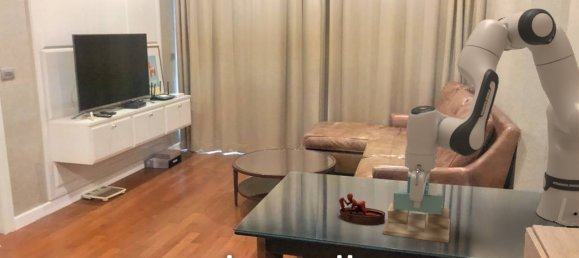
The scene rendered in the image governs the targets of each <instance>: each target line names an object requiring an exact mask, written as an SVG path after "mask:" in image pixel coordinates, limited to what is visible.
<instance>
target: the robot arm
mask: <svg viewBox="0 0 579 258" xmlns="http://www.w3.org/2000/svg"><path fill="white" fill-rule="evenodd" d="M526 48H527V49H528V50H529V51H530V53H531V54H532V59H533V62H534V66H535V69H536V72H537V75H538V79H539V81H540V84H541V88H542V89H543V92H544V93H545V95H546V98H547V99H548V101H549V103H548V105H547V107H546V110H545V114H546V119H547V124H546V125H547V141H548V143H547V145H548V150H547V153H548V154H547V162H546V169H545V170H546V171H545V172H544V175H543V180H542V189H543V190H542V195H541V198H540V202H539V204H538V207H537V209H536V210H535V211H536V214H537V215H538V216H539V217H541V218H543V219H545V220H546V221H550V222H553V221H559V222H560V223H561V224H563V225H565V226H564V227H566V226H570V225H573V226H579V66H578V65H579V64H578V63H577V59H576V56H575V53H574V50H573V47H572V44H571V42H570V40H569V38H568V36H567V34H566V32H565V30H564V29H563V27H562V26H561V25H559V24H557V23H556V21H555V19H554V17H553V16H552V14H551V13H550V12H549V11H548V10H546V9H543V8H529V9H526V10H521V11H518V12H513V13H512V14H510V15H507V16H504V17H501V18H499V19H492V18H488V19H487V18H485V19H484V20H482V21H480V22H478V24H477V25H476V26H475V27H474V28H473V30H472V31H471V34H470V35H469V37H468V38H467V40H466V41H465V43H464V45H463V48H462V49H461V51H460V53H459V56H458V59H457V64H456V66H457V69H458V72H459V74H460V76H461V77H463V79H464V80H466V81H467V82H468V83H470V84H471V85H473V87H474V95H473V98H472V102H471V105H470V107H469V111H468V114H467V116H466V117H465V118H463V119H462V118H458V117H454V116H451V115H447V114H445V113H442V112H441V111H439V110H438V109H437V108H436V107H435V106H433V105H419V106H415V107H413V108H411V110H410V111H409V113H408V117H407V123H406V131H405V132H406V134H405V137H406V147H405V152H404V153H405V155H404V167H405V168H407V169H408V172H410V173H412V174H411V180H410V195H409V197H410V200H414V207H415V208H420V204H421V201H422V199H423V195H424V191H425V186H426V182H427V178H428V174H429V175H430V174H431V171H432V170H434V169H436V164H437V163H436V161H437V160H436V159H437V148H438V147H440V148H442V149H445V150H449V151H452V152H454V153H456V154H458V155H461V156H463V157H469V156H473V155H474V154H476V153H478V152H479V151H480V150H481V149H482V147H483V145H484V144H485V140H486V134H487V126H488V123H489V120H490V115H491V114H492V113H491V112H492V109H493V107H494V102H495V99H496V95H497V92H498V89H499V85H500V84H499V83H500V78H499V75H498V73H497V68H498V64H499V62H500V60H501V57H502V55H503V53H504V52H505V51H507V52H508V51H513V50H522V49H526Z"/></svg>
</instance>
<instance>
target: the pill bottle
mask: <svg viewBox="0 0 579 258" xmlns="http://www.w3.org/2000/svg"><path fill="white" fill-rule="evenodd" d="M411 174H412V173H410V172H409V171H408V172H407V185H406V192H407V193H410V180H411ZM429 186H430V174H428V178H427V182H426V186H425V191H424V194H426V195H429Z"/></svg>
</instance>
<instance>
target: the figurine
mask: <svg viewBox="0 0 579 258" xmlns="http://www.w3.org/2000/svg"><path fill="white" fill-rule="evenodd" d="M346 199H347V200H348V201H347V200H346ZM346 199H345V198H344V197H341V198H339V199H338V202H339V206H340V209H339V216H340V217H339V218H340V219H341V220H343V221H344V222H347V223H351V224H355V225H360V226H361V225H362V226H380V225H385V223H386V212H385V211H383V210H382V209H381V210H380V209H377V208H376V209H375V208H370V207H366V201H365V200H361V201H357V200H356V199H355V198H354V195H353V193H348V194H347V195H346ZM345 205H346V206H347V207H346V206H345ZM349 205H350V206H349Z"/></svg>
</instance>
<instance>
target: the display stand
mask: <svg viewBox="0 0 579 258" xmlns="http://www.w3.org/2000/svg"><path fill="white" fill-rule="evenodd" d="M427 214H428V215H427ZM450 222H451V219H450V208H445V207H442V209H441V214H432V213H426V214H424V213H418V212H417V213H416V212H411V211H408V210H400V209H393V201H391V202H390V204H389V207H388V209H387V218H386V220H385V223H384V226H383V229H382V235H387V236H394V237H401V238H402V237H403V238H410V239H414V240H415V239H416V240H424V241H431V242H440V243H446V244H449V242H450V225H451V223H450Z"/></svg>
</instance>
